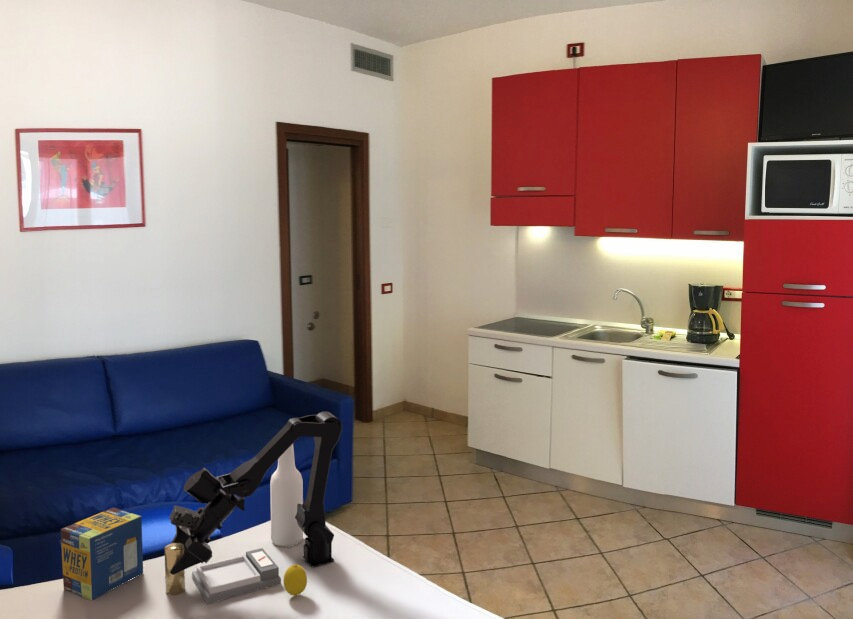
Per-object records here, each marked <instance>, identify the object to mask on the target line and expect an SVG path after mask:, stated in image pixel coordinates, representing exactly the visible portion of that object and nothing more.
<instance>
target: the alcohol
mask: <svg viewBox="0 0 853 619" xmlns="http://www.w3.org/2000/svg"><path fill="white" fill-rule="evenodd" d="M295 462H296V461H295V450H294V443H293V444H292V445H291V446H290V447H289V448H288V449H287V450H286V451H285V452H284V453H283V454H282V455H281V456H280V457H279V459H278V460H277V468H276V470H275V471H274V472H273V473H272V474H271V477H270V481H269V482H270V484H269V485H270V487H269V488H270V489H269V490H270V491H269V492H270V540H271V542H272V543H273V545H275V546H277V547H282V548H289V546H290V547H294V546H296V544H297V545H298V544H300V543H301V542H302V540H303V538H304V532H303V531H302V530H301V528H300V527H299V526H298V524H297V520H296V519H295V516H296V514H297V505H298V504H303V503H304V497H303V496H304V493H303V492H304V491H303V490H304V488H303V485H304V484H303V481H304V480H303V476H302V473H301V472H300V471H299V470H298V469H297V467H296V463H295ZM299 542H300V543H299ZM293 545H294V546H293Z"/></svg>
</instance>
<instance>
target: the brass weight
mask: <svg viewBox="0 0 853 619" xmlns="http://www.w3.org/2000/svg"><path fill="white" fill-rule="evenodd" d="M171 543H172V542H171ZM171 543H169V544H167V545H166V546H164V575H165V578H164V580H165V593H166V594H167V595H169V594H170V595H169V596H176V595H175V594H177V595H180V594H182V593H183V591H184V592H185V590H186V581H185V580H186V578H185V576H186V575H185V570H186V569H185V570H183V571H181V572H178V573H176V574H174V575H172V574H171V573H170V571H171V569H172V567H173V566H174V565H175V563H176V562H177V560H178V559H179V557H180V556H181V555H182V553H183V544H181V543H172V544H171ZM181 592H182V593H181Z"/></svg>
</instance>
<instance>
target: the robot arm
mask: <svg viewBox="0 0 853 619" xmlns="http://www.w3.org/2000/svg"><path fill="white" fill-rule="evenodd" d="M342 431H343V423H342V421H341V420H340V419H339V418H337V417H336V416H335V415H334V414H332V413H331V412H330V411H321V412H318V414H310V415H309V414H308V415H304V416H301V417H293V418H289V419H288V421H287V423H286V424H285V425H284V426H282V428H281V429H280V430H279V431H278V432H277V433H276V434H275V435H274V436H273V437H272V438H271V439H270V440H269V442H268V443H266V444H265V445H264V446H263V448H262V449H260V450H259V452H258V453H257V454H256V455H255V456H253V457H252V458H251V459H249V460H247V461H245V462H243V463H242V464H240V465H239V466H238V467H236V468H235V469H233V470H232V471H231V472H229V473H227V474H222V475H219V476H216V477H215V476H214V475H213V474H212V473H211V472H210V471H209V470H208V469H207V468H205V467H202V469H200V470H198V471H197V472H195V473H194V474H191V475H190V476H189V477H188V479H187V480H186V482H185V483H184V485H183V491H184V492H186V493H187V494H189V495H190V496H191V497H192V498H194V499H195V500H196V501H198V503H200V504H202V505H203V504H205V503H206V505H205V507H203V506H201V507H198V508H197V509H196V510H193V509H191V508H187V507H183V506H179V505H174V506H173V508H172V510H171V513H170V514H169V515H170V516H169V518H168V519H169V520H170V524H172V526H175V535H174V537H173V539H172V540H171V543H170V544H172V543H181V544H183V553H182V555H181V556H180V557H179V559H178V560H177V562H176V563H175V565H174V566H173V567H172V569H171V571H170V573H171V574H172V575H174V574H176V573H178V572H181V571H183V570H187V569H189V568H191V567H193V566H197V565H198V564H204V563H205V564H208V562H209V561H210V560H211V559H212V558H213V551H212V549H211V546H210V545H209V543H210V542H211V539H210V537H211V536H212V535H213V534H214V533H215V532H216V531H217V530H219V531H220V530H221V529H222V528H223V526H222V523H224V522H225V520H227V518H228V517H229V516H230V515H231V513H232V512H233V511H234V510H235V509H236V508H238V509H239V510H240V511H242V512H245V510H246V507H245V501H246V500H245V498H249V497H251V496H252V495H253V494H254V493H255V492H256V491H257V489H258V488H259V487H260V485H261V484H262V482H263V479H264V477H265V474H266V473H267V472H268V470H269V469H270V468H271V467H272V466H273V465H274V464H275V463H276V462H278V459H279V457H280V456H281V455H282V454H283V453H284V452H285V451H286V450H287V449H288V448H289V447H290V446H291V445H292V444H293V445H294V443H295V442H296V441H297V440H298V439H299V438H300V437H312V438H313V440H314V451H313V458H312V462H311V469H310V475H309V482H308V486H307V492H306V498H305V500H303V504H298V505H297V514H296V516H295V519H296V520H297V524H298V526H299V527H300V528H301V530H302V531H303V535H305V537H304V538H305V539H304V540H305V541H304V544H303V548H302V549H303V556H302V559H303V560H305V562H306V563H307V564H308V565H309V566H310V567H311V568H315V567H319V566H323V565H326V564H330V563H333V562H335V559H334V557H333V556H332V554H333V553H332V552H333V551H332V548H333V546H332V543H333V541H334V537H335V534H334V533H333V531H331V530H330V527H328V526H327V524H326V522H327V520H326V511H325V510H326V509H325V505H324V504H325V503H324V502H325V494H326V489H327V483H328V478H329V473H330V466H331V459H332V454H333V450H334V448H335V446H336V445H337V443H338V442H339V440H340V437H341V434H342Z"/></svg>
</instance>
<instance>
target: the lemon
mask: <svg viewBox="0 0 853 619" xmlns="http://www.w3.org/2000/svg"><path fill="white" fill-rule="evenodd" d="M307 583H308V576H307V572H306V570H305V568H304V567H303V566H301V565H299V564H296V563H294V564H292V565H290V566H288V567H287V569H286V570H285V572H284V574H283V586H284V590H285V592H286V593H287V594H289V595H291V596H294V597H297V596H298V595H301V594H302V593H303V592H304V590H306V587H307V585H308V584H307Z"/></svg>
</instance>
